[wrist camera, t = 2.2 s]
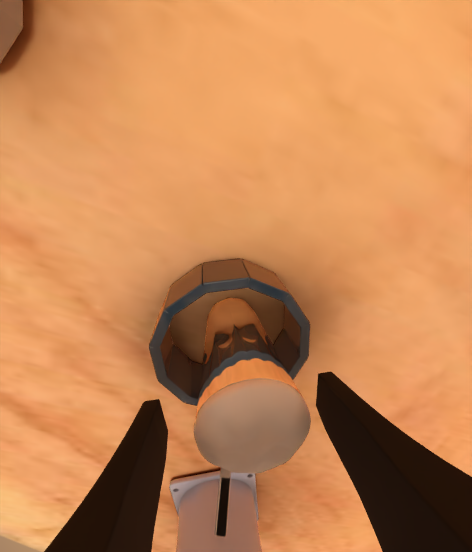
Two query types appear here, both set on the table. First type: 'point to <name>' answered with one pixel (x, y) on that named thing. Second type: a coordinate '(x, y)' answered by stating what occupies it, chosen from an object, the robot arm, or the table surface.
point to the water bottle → (10, 24)
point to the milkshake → (245, 401)
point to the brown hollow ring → (212, 278)
